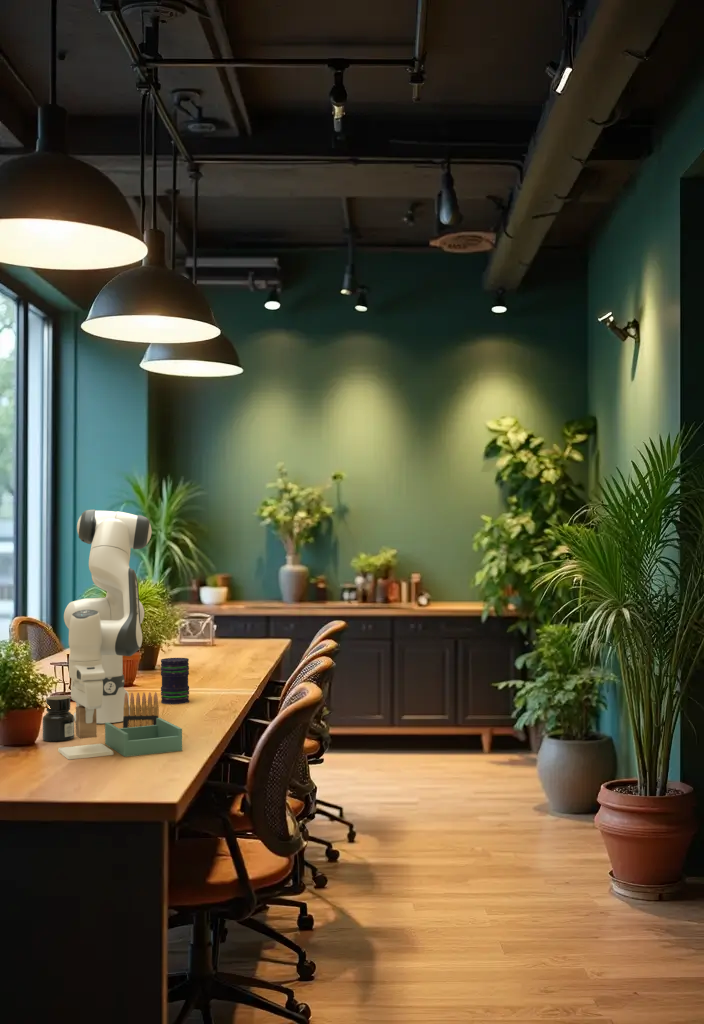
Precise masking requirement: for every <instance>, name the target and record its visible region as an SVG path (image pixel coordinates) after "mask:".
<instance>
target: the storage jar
mask: <svg viewBox="0 0 704 1024" xmlns="http://www.w3.org/2000/svg"><path fill="white" fill-rule="evenodd" d="M189 662H190V661H189V658H187V657H168V658H167V657H166V658H162V659H160V676H161V687H160V696H161V697H160V699H161V701H160V702H161V704H164V705H181V704H182V705H183V704H187V703H189V702H190V699H189V698H190V686H189V675H190V666H189V665H190V664H189Z"/></svg>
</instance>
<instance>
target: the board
mask: <svg viewBox="0 0 704 1024" xmlns="http://www.w3.org/2000/svg"><path fill="white" fill-rule="evenodd" d="M57 748H58V749H57V750H58V751H57V752H58V753H59V754H60V755H62V756H63V757H65V758H66V759H67V760H79V759H89V758H96V757H105V756H114V750H113V749H112V748H111V749H110V747H109V746H107V745H106V744H103V743H94V744H85V745H75V746H65V747H64V746H63V747H57Z"/></svg>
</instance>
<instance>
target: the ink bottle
mask: <svg viewBox="0 0 704 1024" xmlns="http://www.w3.org/2000/svg"><path fill="white" fill-rule="evenodd" d="M45 702H46V703H47V704H48V705H49V706H50V708H51V709H49V708H47V709H46V713H45V714H44V716H43V717H42V740H43V741H46V742H65V741H71V740H72V739H74V738H75V719H74V714H72V712H70V710H71V696H66V695H57V696H48V697H45ZM46 703H45V704H46Z"/></svg>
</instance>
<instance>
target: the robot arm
mask: <svg viewBox="0 0 704 1024" xmlns="http://www.w3.org/2000/svg"><path fill="white" fill-rule="evenodd" d="M76 524H77V525H76V531H77V535H78V539H80V541H81V542H82V543H86V544H87V545H90V546H91V547H90V551H89V557H88V569H89V572H90V574H91V580H92V582H93V584H94V585H95V586H96V587H98V588H99V589H101V590H102V591H104V592H105V591H106V595H105V597H91V598H89V597H88V598H87V597H86V598H81V599H77V600H76V599H75V600H74V601H70V602H69V603H68V604H67V606H66V607H65V609H64V613H63V621H64V624H65V626H66V627H67V629H68V647H69V656H68V678H70V679H71V680H70V682H71V683H70V699H71V700H72V701H73V702H75V705H76V706H75V708H76V707H77V706H84V707H85V711H86V715H85V722H86V723H92V722H93V713H94V709H96V724H105V723H107V722H109V723H110V724H112V723H114V724H115V723H120V722H123V716H124V697H125V693H127V695H128V705H129V715H130V694H129V691H127V690H126V688H124V686H125V682H126V681H125V675H124V674H123V673H124V671H123V670H124V669H123V668H124V667H123V665H124V663H123V657H132V656H133V655H135V653H137V652H138V651H139V650H140V649H141V648H142V643H143V631H142V626H141V624H142V623H143V621H144V618H145V608H144V606H143V603H142V602H141V601H140V594H139V593H140V591H139V581H138V577H137V573H136V571H135V570H134V569H133V568H131V567H130V559H131V549H133V550H140V549H141V550H142V549H144V548H145V547H146V546H147V545H148V543H149V542H150V539H151V537H152V533H153V532H152V526H151V521H150V520H149V518H148V517H146V516H143V515H141V514H138V515H137V514H132V513H129V512H125V511H113V510H96V509H85V510H84V511H83V512H82V513H81V515H80V516H79V518H78V520H77V523H76ZM73 716H74V723H76V711H75V712H74V713H73Z"/></svg>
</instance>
